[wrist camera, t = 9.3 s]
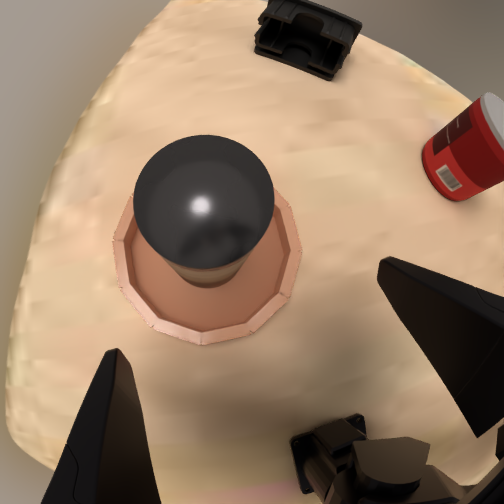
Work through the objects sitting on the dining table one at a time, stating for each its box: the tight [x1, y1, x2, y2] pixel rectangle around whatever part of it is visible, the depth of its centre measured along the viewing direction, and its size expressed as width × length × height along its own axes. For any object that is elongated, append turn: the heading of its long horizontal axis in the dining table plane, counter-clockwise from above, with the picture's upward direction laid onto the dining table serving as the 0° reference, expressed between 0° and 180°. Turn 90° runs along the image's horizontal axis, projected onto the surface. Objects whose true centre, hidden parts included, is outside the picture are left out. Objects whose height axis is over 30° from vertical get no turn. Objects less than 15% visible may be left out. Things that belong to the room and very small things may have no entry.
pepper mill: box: [133, 135, 275, 288], centre depth 16 cm, size 5×5×11 cm
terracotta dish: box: [112, 187, 302, 345], centre depth 20 cm, size 13×13×2 cm
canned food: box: [422, 92, 504, 201], centre depth 22 cm, size 8×8×11 cm
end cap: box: [254, 0, 362, 81], centre depth 24 cm, size 10×7×7 cm
